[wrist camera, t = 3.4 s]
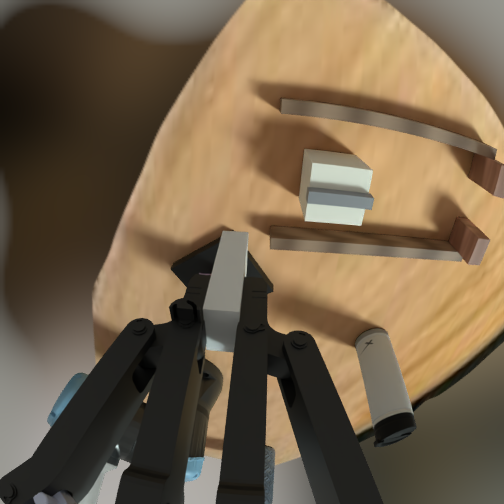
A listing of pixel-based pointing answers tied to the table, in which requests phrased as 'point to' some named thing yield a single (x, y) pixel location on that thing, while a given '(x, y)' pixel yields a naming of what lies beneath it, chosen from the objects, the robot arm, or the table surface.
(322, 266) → the table surface
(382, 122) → the guide
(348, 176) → the block
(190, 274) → the figurine
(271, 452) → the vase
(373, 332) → the travel mug
